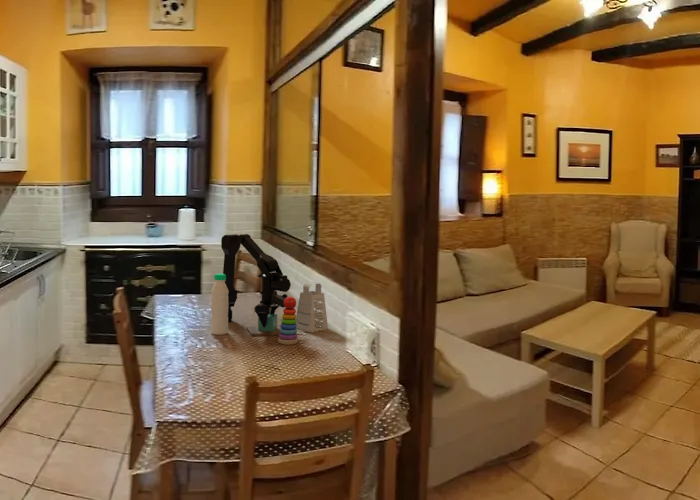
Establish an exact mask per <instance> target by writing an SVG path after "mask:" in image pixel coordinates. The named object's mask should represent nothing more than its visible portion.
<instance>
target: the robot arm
mask: <svg viewBox="0 0 700 500" xmlns="http://www.w3.org/2000/svg"><path fill="white" fill-rule="evenodd" d="M220 244H221V246H220V247H221V250H222V251H223V254H224V257H223V267H222V268H223V271H222V274H225V275H226V280H225V284H226V286H227V288H228V291H229V293H228V323H229V322H233V310H232V307H235V304H236V303H237V302H236V301H237V299H238V293H239V291H238V290H237V289H236V288H235V287H234V281H235V270H236V269H235V268H236V257H237V253H239V250H240V249H241V246H243V248H244V249H245V250H246V251H247V252H248V253H249V254H250V255H251V257H252V258H253V260H255V262H256V265H257V267H258V269H259V272H260V274H258V275H257V277H258V278H260V279H261V290H260V292H259V295H261V300H259V303H258V304H257V305H255V306H254V307H253V308H254V313H255V314H256V316H257V318H258V317H259V319H260V321H261V324H262V326H263V327H266V323H267V317H268V315H269V314H275V313H276V311H277V309H279V308H283V309H285V306H284V300H285V298H287V297H289V296H288V294H286V293H287V292H289V290H290V289H291V285H292V283H291V281H290V279H289V278H288V275H284V274H283V272H282V269H281V268H280V265H279V262H278V260H277V259H275V258H274V256H272V255H269V254H267V253H265V252H264V250H263V249H262V248H261V247H260V246H259V245H258V243H256V241H255V240H253V239H252V236H251V235H250V234H249V233H242V234H241V233H240V234H237V233H234V234H224V235H223V236H222V237H221V239H220ZM278 292H283V294H282V295H281V294H278Z"/></svg>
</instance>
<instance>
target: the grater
mask: <svg viewBox="0 0 700 500" xmlns="http://www.w3.org/2000/svg"><path fill="white" fill-rule="evenodd" d="M311 285H315V291H314V290H310V287H311ZM302 289H303V290H302V292H299V299H298V303H297V310H296V314H295V315H296V318H295V319H296V320H297V322H296V325H297V327H296V329H297V330H301V331H304V332H308V333H314V331H315V332H319V330H320V331H324V330H328V329H329V325H328V316H327V307H326V300H325V299H326V298H325V297H326V296H325V293H324V292H322V284H321V283H320V282H319V283H318V282H306V283H304V284H303V288H302ZM320 326H321V327H320ZM323 329H324V330H323Z"/></svg>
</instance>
